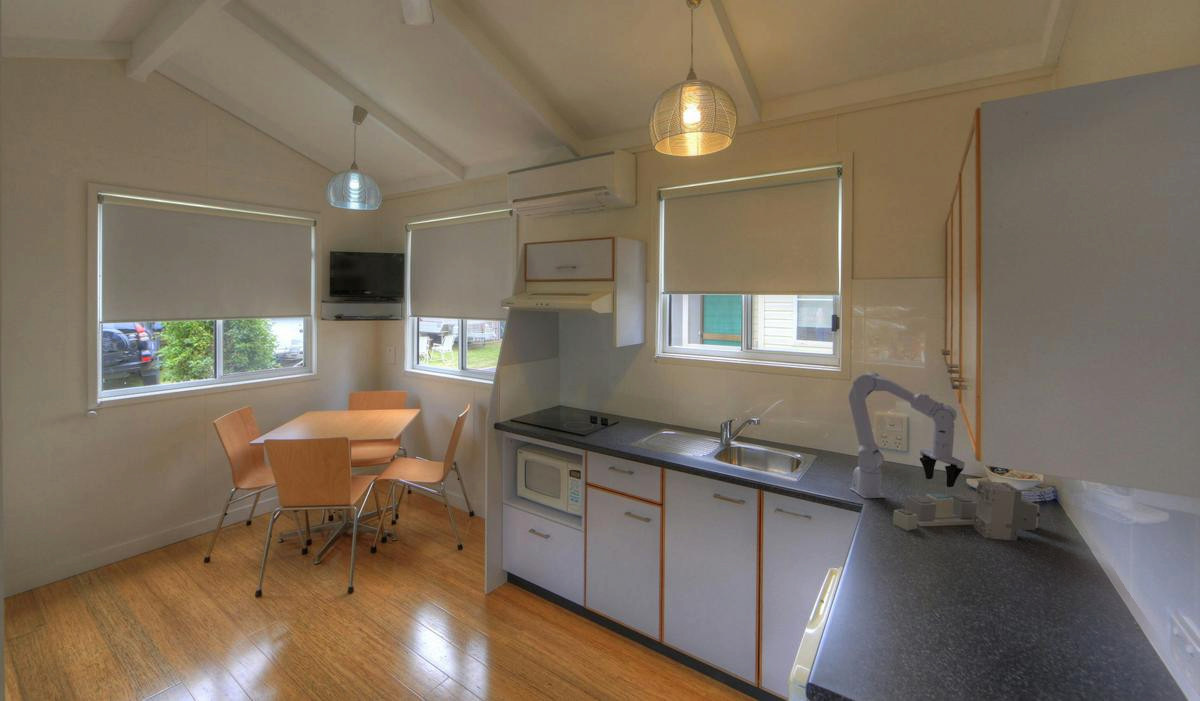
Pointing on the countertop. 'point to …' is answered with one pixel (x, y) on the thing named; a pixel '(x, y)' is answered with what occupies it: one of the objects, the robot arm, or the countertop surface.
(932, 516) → the rail board
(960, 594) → the countertop surface
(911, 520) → the contactor
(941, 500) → the block
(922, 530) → the countertop surface
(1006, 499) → the circuit breaker
